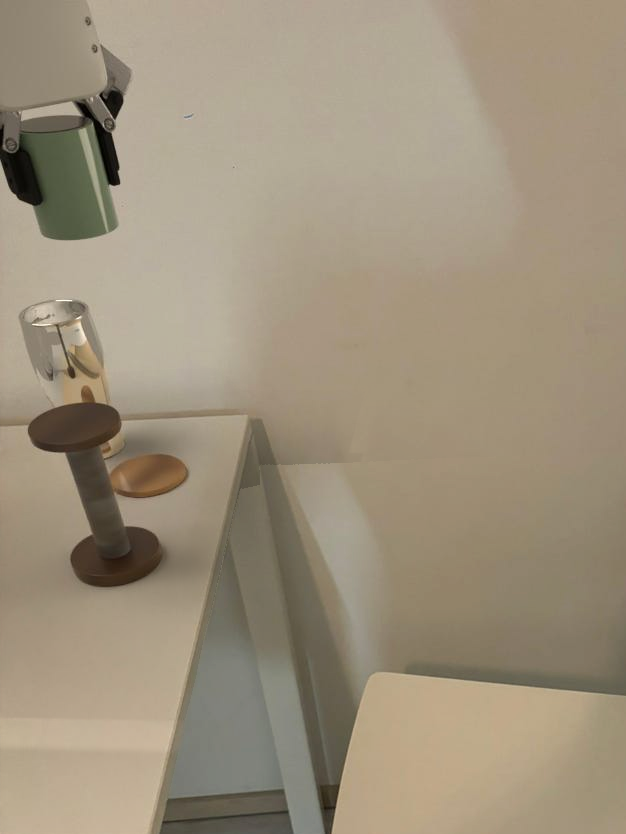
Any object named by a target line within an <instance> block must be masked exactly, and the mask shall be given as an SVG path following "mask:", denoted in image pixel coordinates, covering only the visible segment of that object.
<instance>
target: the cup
mask: <svg viewBox="0 0 626 834" xmlns="http://www.w3.org/2000/svg"><path fill="white" fill-rule="evenodd" d="M19 144H20V147H21V150H24V151H26V152H27V153H28V154H29V156H30V160H31V163H32V166H33V170H34V173H35V176H36V180H37V183H38V186H39V190H40V193H41V197H42V200H43V202H41V205H37V206H33V205H31V206H32V208H33V212H34V215H35V219H36V222H37V225H38V228H39V232H40V234H41V236H43V237H44V238H46V239H50V240H55V241H82V240H87V239H93V238H97V237H102V236H105V235H107V234H110V233H112V232H113V231H115V230H116V229H117V228H118V227H119V225H120V224H119V223H120V221H119V218H118V214H117V210H116V206H115V203H114V199H113V194H112V191H111V185H109V182H108V178H107V174H106V170H105V166H104V162H103V158H102V154H101V150H100V146H99V142H98V138H97V134H96V130H95V126H94V122H93V120H92V119H90V118H88V117H84V116H81V115H75V114H58V115H57V114H55V115H44V116H37V117H32V118H26V119H24V120H23V119H22V120H21V126H20V139H19Z"/></svg>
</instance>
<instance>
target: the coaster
mask: <svg viewBox="0 0 626 834" xmlns="http://www.w3.org/2000/svg"><path fill="white" fill-rule="evenodd" d="M186 476H187V469H186V465H185V463H184V462H183V460H181V459H180V458H178V457H176V456H173V455H170V454H163V453H151V454H143V455H138V456H135V457H131V458H128V459H127V460H125V461H123V462H121V463H119V464H117V465H116V466H115V467H114V468H113V469H112V470H111V472H110V473H109V477H110V480H111V483H112V487H113V490H114V493H116V494H119V495H121V496H124V497H129V498H130V497H131V498H147V497H148V498H149V497H153V496H158V495H161V494H165V493H166V492H169V491H172V490H173V489H175V488H176V487H178V486H179V485H180V484H181V483H183V481H184V480H185V478H186Z"/></svg>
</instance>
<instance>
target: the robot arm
mask: <svg viewBox="0 0 626 834" xmlns="http://www.w3.org/2000/svg"><path fill="white" fill-rule="evenodd" d="M88 4H89V3H88V1H87V0H0V164H1V167H2V170H3V174H4V177H5V180H6V184H7V186H8V188H9V190H10V192H11V193H12V194H14V195H15V197H16V198H17V200H18V201H21V202H23V203H25V204H28V205H30V206H32V205H33V206H37V205H41V202H43V200H42V197H41V193H40V190H39V186H38V183H37V180H36V176H35V173H34V170H33V166H32V163H31V160H30V156H29V154H28V153H27V152H26V151H24V150H21V147H20V144H19V139H20V126H21V121H22V113H23V111H29V110H33V109H39V108H44V107H49V106H54V105H60V104H65V103H70V102H71V103H72V104H73V106H74V107H75V108H76V111H78V113H79V114H80V116H84V117H88V118H90V119H92V120H93V122H94V126H95V130H96V134H97V138H98V142H99V146H100V150H101V154H102V158H103V162H104V166H105V170H106V174H107V178H108V182H109V186H112V187H116V186H117V187H118V186H119V185H121V178H120V175H119V171H120V168H121V167H120V162H119V159H118V154H117V149H116V146H115V142H114V138H113V133H114V132H115V130H116V128H117V123H116V120H117V118H118V116H119V114H120V112H121V110H122V107H123V105H124V101H125V100H124V97H125V96H126V94H127V92H128V90H129V88H130V85H131V84H132V81H133V78H134V72H133V70H132V69H131V68H130V67H129V66H127V65H126V64H125V63H124V62H123V61H122V60H121V59H119V58H118V57H117V56H116V55H114V54H113V53H112V52H111V51H110V50H108V49H107V48H106V47H104V45H102V44H101V43H100V40H99V36H98V33H97V28H96V26H95V23H94V20H93V16H92V12H91V9H90V7H89V5H88ZM33 206H32V207H33Z"/></svg>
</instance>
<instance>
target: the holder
mask: <svg viewBox="0 0 626 834" xmlns="http://www.w3.org/2000/svg"><path fill="white" fill-rule="evenodd" d="M122 427H123V422H122V419H121V415H120V413H119V411H118V410H117V409H116V408H115V407H114V406H109V405H106V404H102V403H94V402H82V403H73V404H68V405H63V406H59V407H56V408H53V407H52V408H51V409H48V410H46V411H44V412H42V413H40V414H39V415H37V416H36V417H35V418H33V419H32V420H31V422H30V423H29V424H28V427H27V435H28V437H29V440H30V442H31V444H32V445H33V446H34V447H35V448H37V449H39V450H41V451H44V452H48V453H58V454H59V453H60V454H63V453H64V454H65V457H66V460H67V463H68V466H69V468H70V471H71V475H72V476H73V481H74V484H75V487H76V490H77V493H78V495H79V498H80V501H81V504H82V505H81V506H82V507H83V510H84V511H83V512H84V513H85V516H86V520H87V523H88V525H89V529H90V531H91V534H90V535H89V536H86V537H84V538H83V539H82V540H80V541H79V542H78V543H77V544H76V545H75V546H74V547H73V549H72V551H71V553H70V557H69V561H70V565H71V567H72V570H73V573H74V575H75V576H76V578H77V579H78V580H79V581H80V582H81V581H82V582H83V583H85V584H88V585H90V586H96V587H116V586H123V585H126V584H130V583H132V582H135V581H137V580H140V579H142V578H145V577H146V576H147V575H148V574H150V573H151V572H153V571H154V570H155V569H156V568H157V566H158V565H159V564H160V563H161V560H162V557H163V550H162V547H161V543H160V540H159V538H158V536H157V535H156V534H155V533H154V532H153V531H151V530H149V529H147V528H144V527H140V526H134V525H133V526H131V525H125V523H124V519H123V516H122V513H121V509H120V508H119V503H118V499H117V496H116V494H115V493H116V492H115V491H114V490H113V487H112V483H111V480H110V477H109V475H110V473H109V470H108V468H107V464H106V462H105V461H106V460H105V459H104V457H103V454H102V451H101V448H100V445H101V444H104V443H106V442H107V441H109V440H111V439H112V438H114V437H115V436H116V435H117V434H118V433H119V431H120V432H121V430H122Z"/></svg>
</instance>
